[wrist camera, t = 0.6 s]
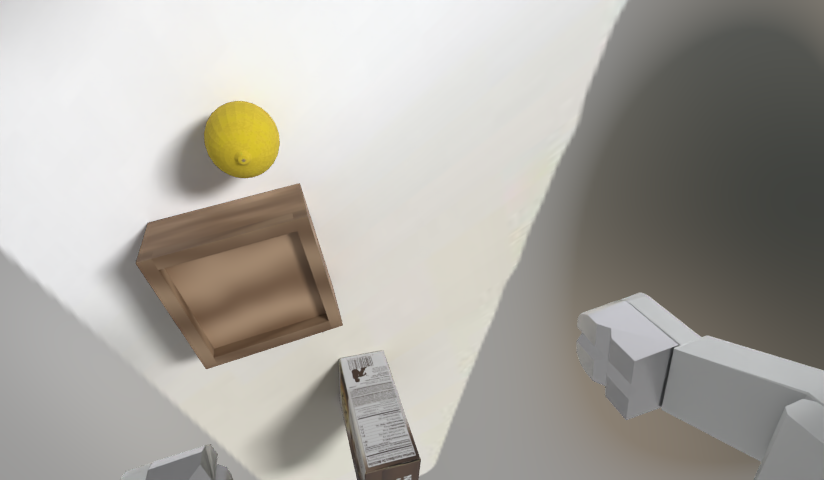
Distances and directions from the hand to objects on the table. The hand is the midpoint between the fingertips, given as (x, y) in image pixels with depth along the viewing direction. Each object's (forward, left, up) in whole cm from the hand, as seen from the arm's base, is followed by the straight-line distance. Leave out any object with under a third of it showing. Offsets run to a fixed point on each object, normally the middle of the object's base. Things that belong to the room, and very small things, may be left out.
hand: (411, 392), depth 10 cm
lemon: (+5, -5, -34) cm, 35 cm away
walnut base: (+19, -9, -34) cm, 40 cm away
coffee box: (+43, -2, -34) cm, 55 cm away
